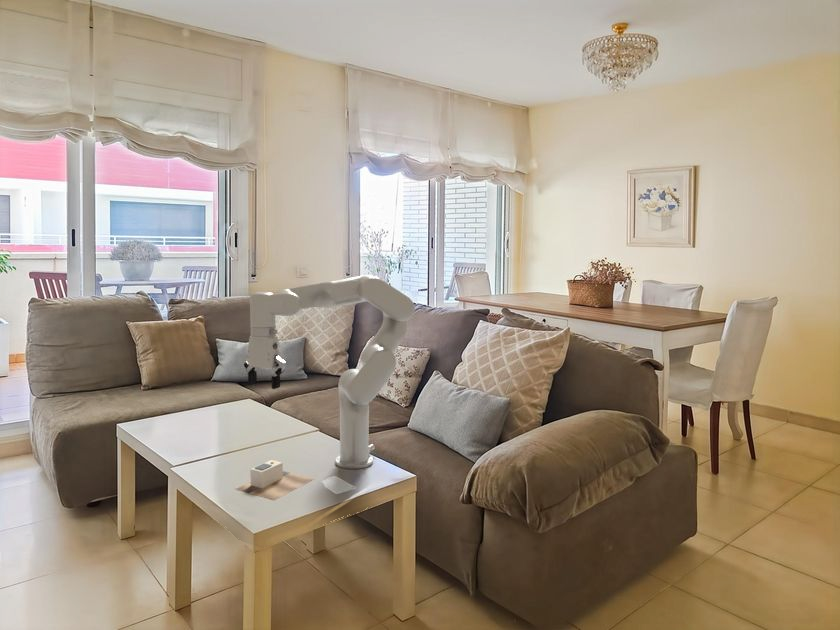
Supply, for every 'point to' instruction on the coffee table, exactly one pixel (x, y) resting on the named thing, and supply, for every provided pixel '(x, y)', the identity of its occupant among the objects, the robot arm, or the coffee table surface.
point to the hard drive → (337, 485)
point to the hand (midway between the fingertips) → (264, 386)
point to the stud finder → (266, 473)
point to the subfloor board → (277, 486)
